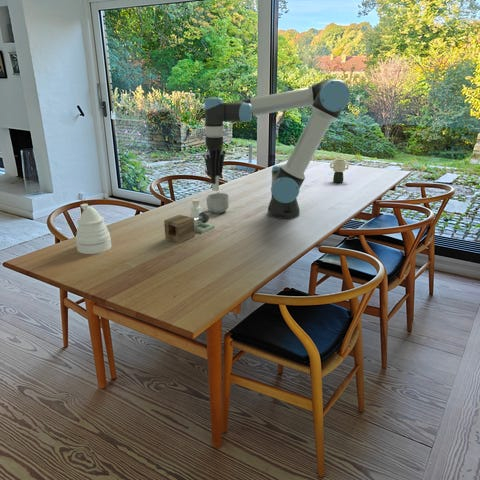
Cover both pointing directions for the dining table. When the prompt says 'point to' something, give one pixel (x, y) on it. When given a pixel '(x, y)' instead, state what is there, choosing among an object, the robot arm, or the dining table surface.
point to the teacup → (217, 202)
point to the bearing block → (179, 228)
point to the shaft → (201, 218)
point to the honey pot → (92, 232)
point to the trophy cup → (338, 169)
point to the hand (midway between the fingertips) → (215, 190)
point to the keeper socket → (204, 228)
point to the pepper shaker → (195, 208)
